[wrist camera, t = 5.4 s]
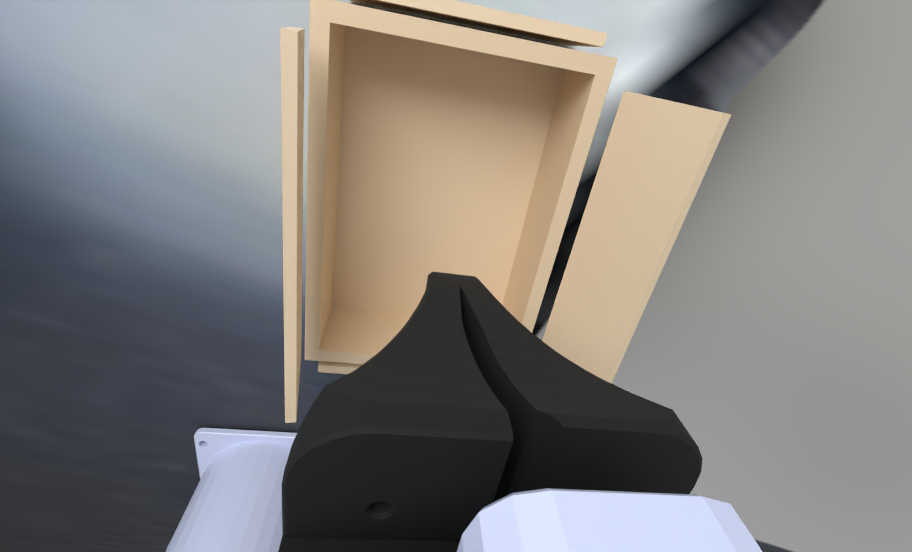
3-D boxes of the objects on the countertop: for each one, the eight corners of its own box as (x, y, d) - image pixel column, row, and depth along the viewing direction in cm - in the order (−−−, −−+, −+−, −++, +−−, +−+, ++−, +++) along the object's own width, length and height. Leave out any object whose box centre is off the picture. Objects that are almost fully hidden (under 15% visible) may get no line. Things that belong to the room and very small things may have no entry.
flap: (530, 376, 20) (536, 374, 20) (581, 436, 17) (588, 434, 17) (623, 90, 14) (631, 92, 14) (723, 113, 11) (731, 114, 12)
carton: (503, 338, 25) (517, 387, 21) (321, 321, 23) (304, 370, 20) (586, 37, 18) (627, 37, 14) (333, -16, 16) (310, -31, 13)
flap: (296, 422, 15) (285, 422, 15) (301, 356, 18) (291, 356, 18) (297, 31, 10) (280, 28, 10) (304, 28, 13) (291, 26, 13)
